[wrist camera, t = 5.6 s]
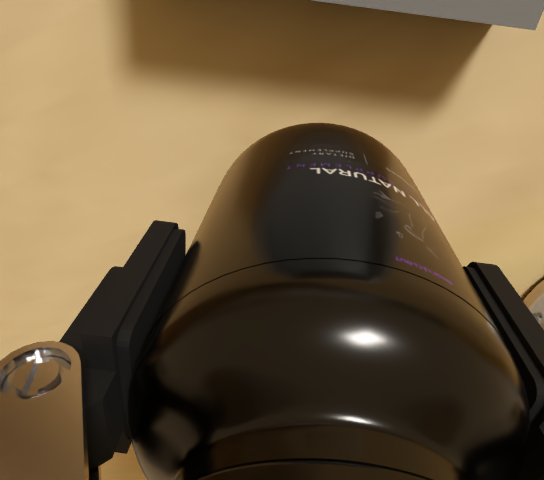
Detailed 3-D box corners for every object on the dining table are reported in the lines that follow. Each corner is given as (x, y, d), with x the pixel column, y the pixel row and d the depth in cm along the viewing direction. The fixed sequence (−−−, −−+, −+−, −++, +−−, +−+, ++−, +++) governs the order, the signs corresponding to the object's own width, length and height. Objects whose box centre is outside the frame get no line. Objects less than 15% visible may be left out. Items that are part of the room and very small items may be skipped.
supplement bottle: (405, 92, 12) (1067, 710, 2) (418, 276, 15) (658, 856, 5) (187, 141, 13) (-229, 677, 3) (244, 302, 16) (148, 812, 6)
